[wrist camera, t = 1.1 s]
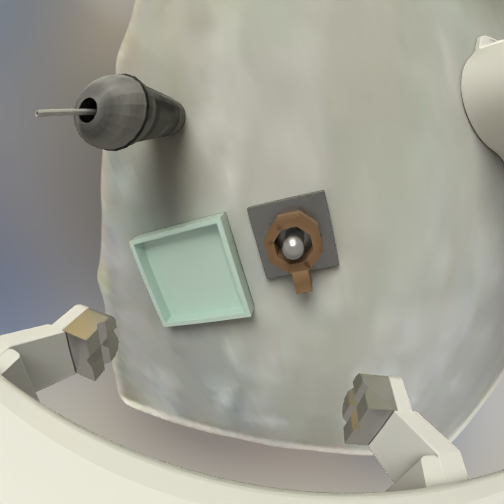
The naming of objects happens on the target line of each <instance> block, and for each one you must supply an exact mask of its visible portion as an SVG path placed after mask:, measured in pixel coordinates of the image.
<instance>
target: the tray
mask: <svg viewBox="0 0 504 504" xmlns="http://www.w3.org/2000/svg"><path fill="white" fill-rule="evenodd" d="M129 244H130V247H131V249H132V252H133V255H134V257H135V260H136V262H137V265H138V267H139V270H140V272H141V275H142V277H143V280H144V282H145V285H146V287H147V290H148V292H149V294H150V297H151V299H152V301H153V304H154V306H155V308H156V310H157V313H158V315H159V317H160V319H161V321H162V324H163V326H164V327H169V326H179V325H188V324H197V323H206V322H214V321H222V320H230V319H237V318H245V317H251V316H252V313H253V310H254V307H255V306H254V303H253V300H252V297H251V293H250V290H249V287H248V284H247V280H246V277H245V274H244V271H243V267H242V264H241V261H240V258H239V254H238V251H237V248H236V245H235V241H234V238H233V235H232V231H231V228H230V225H229V222H228V218H227V215H226V212H224V213H220V214H216V215H212V216H208V217H204V218H200V219H197V220H193V221H189V222H185V223H182V224H178V225H174V226H171V227H167V228H164V229H160V230H156V231H153V232H149V233H146V234H142V235H139V236H137V237H135V238H134V239H132V240H130V241H129Z"/></svg>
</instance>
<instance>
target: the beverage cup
mask: <svg viewBox="0 0 504 504" xmlns="http://www.w3.org/2000/svg"><path fill="white" fill-rule="evenodd" d="M63 115H74V123H75V126H76V129H77V131H78V133H79V135H80V136H81V137H82V138H83V139H84V140H85V141H86V143H88V144H90V145H92V146H94V147H96V148H99V149H104V150H109V151H118V150H121V149H124V148H126V147H128V146H129V145H132V144H134V143H136V142H139V141H144V140H148V139H153V138H158V137H164V136H167V135H170V134H174V133H176V132H177V131H179V130H180V128H181V127H182V126H183V124H184V121H185V110H184V108H183V106H182V105H181V104H180V103H179V102H177V101H175V100H174V99H172V98H170V97H168V96H166V95H164V94H162V93H160V92H158V91H156V90H154V89H151V88H149V87H147V86H146V85H145V84H143V83H142V82H141V81H140V80H138V79H137V78H136V77H135V76H131V75H128V74H117V75H108V76H103V77H101V78H99V79H97V80H95V81H93V82H92V83H90V84H89V85H88V86H87V87H86V88H85V89H84V90H83V92H82V93H81V94H80V96H79V98H78V99H77V102H76V105H75V108H74V109H52V110H37V111H36V113H35V116H36V117H44V116H63Z"/></svg>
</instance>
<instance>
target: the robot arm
mask: <svg viewBox="0 0 504 504" xmlns="http://www.w3.org/2000/svg"><path fill="white" fill-rule="evenodd" d="M461 90H462V98H463V103H464V107H465V110H466V113H467V115H468V118H469V120H470V122H471V124H472V126H473V128H474V130H475V131H476V133H477V134H478V136H479V137H480V139H481V140H482V141H483V142H484V143H485V144H486V145H487V146H488V147H489V148H490V149H492V150H493V151H494V152H496V153H497V154H498V155H499V156H500V157H501V158H502V160H503V162H504V39H503V40H500V41H499V40H497V39H494V38H491V37H488V36H485V35H483V36H480V37H478V38H477V41H476V47H475V52H474V53H473V55H472V56H471V57H470V58H469V59H468V61H467V62H466V64H465V66H464V69H463V72H462V79H461ZM115 328H116V320H115V318H114V317H112V316H110V315H107V314H104V313H102V312H99V311H96V310H94V309H91V308H88V307H86V306H84V305H81V304H78V305H75V306H74V307H73V308H72V309H71V310H69V311H68V312H67V313H66V314H65V315H63V316H62V317H61V318H60V319H58V320H57V321H56V322H55V323H54V324H53V325H49V324H47V325H43V326H39V327H34V328H30V329H26V330H22V331H18V332H14V333H9V334H5V335H1V336H0V504H504V470H501V471H498V472H495V473H491V474H488V475H484V476H480V477H476V478H472V479H468V476H467V472H466V470H465V466H464V463H463V459H462V456H461V453H460V451H459V450H458V449H457V448H456V447H455V446H454V445H452V444H451V443H450V442H449V441H448V440H447V439H446V438H445V437H444V436H443V435H442V434H440V433H439V432H438V431H437V430H436V429H435V428H434V427H433V426H432V425H431V424H429V423H428V422H427V421H426V420H425V419H424V418H423V417H422V416H421V415H420V414H418V413H417V412H415V411H412V408H411V405H410V402H409V398H408V395H407V392H406V389H405V386H404V383H403V380H402V378H401V377H396V376H379V375H369V374H360V373H359V374H358V375H357V376H356V377H355V379H354V381H353V386H354V388H353V389H351V390H349V391H348V393H347V395H346V397H345V399H344V403H343V410H342V414H343V418H344V419H345V421H346V422H347V423H346V425H345V426H344V440H345V444H358V445H369V446H368V447H369V448H370V450H371V451H372V452H373V454H374V455H375V457H376V458H377V459H378V461H379V462H380V464H381V465H382V466H383V468H384V469H385V471H386V472H387V474H388V475H389V476H390V478H391V479H392V481H393V482H394V485H392V486H391V487H390V488H389V489H387V490H386V491H385V492H373V493H327V492H310V491H298V490H288V489H280V488H272V487H266V486H259V485H253V484H247V483H242V482H237V481H233V480H228V479H224V478H219V477H215V476H211V475H207V474H203V473H199V472H196V471H192V470H189V469H185V468H182V467H178V466H175V465H173V464H169V463H166V462H163V461H161V460H157V459H155V458H152V457H149V456H147V455H144V454H141V453H139V452H136V451H134V450H131V449H129V448H126V447H124V446H122V445H119V444H117V443H115V442H113V441H110V440H108V439H106V438H104V437H102V436H100V435H98V434H96V433H94V432H91V431H90V430H88V429H86V428H84V427H82V426H80V425H78V424H76V423H74V422H72V421H71V420H69V419H67V418H65V417H63V416H62V415H60V414H58V413H56V412H55V411H53V410H52V409H50V408H48V407H46V406H45V405H43V404H42V403H40V401H39V399H38V397H37V395H36V392H37V391H39V390H42V389H44V388H46V387H48V386H50V385H53V384H55V383H57V382H59V381H61V380H63V379H66V378H68V377H70V376H72V375H75V374H76V373H78V374H80V375H82V376H84V377H87V378H89V379H92V380H94V381H96V380H97V378H98V377H99V376H100V375H101V373H102V372H103V371H104V369H105V368H104V364H106V363H108V362H111V361H112V360H113V358H114V357H115V355H116V352H117V350H118V337H117V335H116V334H115V332H114V330H115Z"/></svg>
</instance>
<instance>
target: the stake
mask: <svg viewBox="0 0 504 504" xmlns="http://www.w3.org/2000/svg"><path fill="white" fill-rule="evenodd" d="M247 210H248V214H249V217H250V221H251V224H252V228H253V231H254V235H255V239H256V242H257V246H258V249H259V253H260V256H261V260H262V263H263V267H264V270H265V274H266V277H267V279H270V278H275V277H280V276H286V275H291V274H292V273H287V272H285V271H284V270H282V269H280V268H279V267H277V266H275V265H274V264H272V263H270V262H269V259H268V256H267V252H266V248H265V245H264V241H263V240H264V238H265V236H266V234H267V232H268V230H269V228H270V227H271V225H272V224H273V222H274V220H275V219H276V217H277V215H280V214H285V213H289V212H294V211H298V210H299V211H301V212H303V213H304V214H306V215H307V216H309V217H311V218H312V219H314V220H315V221H317V222H318V226H319V231H320V235H321V240H322V245H323V252H322V254H321V255H320V257H319V258H318V259H317V261H316V262H315V264H314V265H313V266H312V268H311V269H310V271H312V270H317V269H322V268H327V267H332V266H337V265H339V261H338V255H337V250H336V245H335V240H334V235H333V230H332V225H331V220H330V215H329V210H328V206H327V201H326V197H325V192H324V190H321V191H317V192H312V193H308V194H303V195H299V196H294V197H290V198H285V199H281V200H277V201H272V202H268V203H264V204H260V205H255V206H251V207H248V208H247ZM277 240H278V243H279V247H280V248H281V249H282V252H283V254H284V256H285V257H286V258H288V259H291V260H296V259H298V258H300V257H301V256H302V254H303V252H305V251H306V250H307V249H308V247H309V246H310V244H311V243H312V241H311V236H310V234H308V233H306V232H305V231H303V230H302V229H300V228H298V227H292V228H288V229H283V230H281V231H280V233H279V234H278V236H277Z"/></svg>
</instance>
